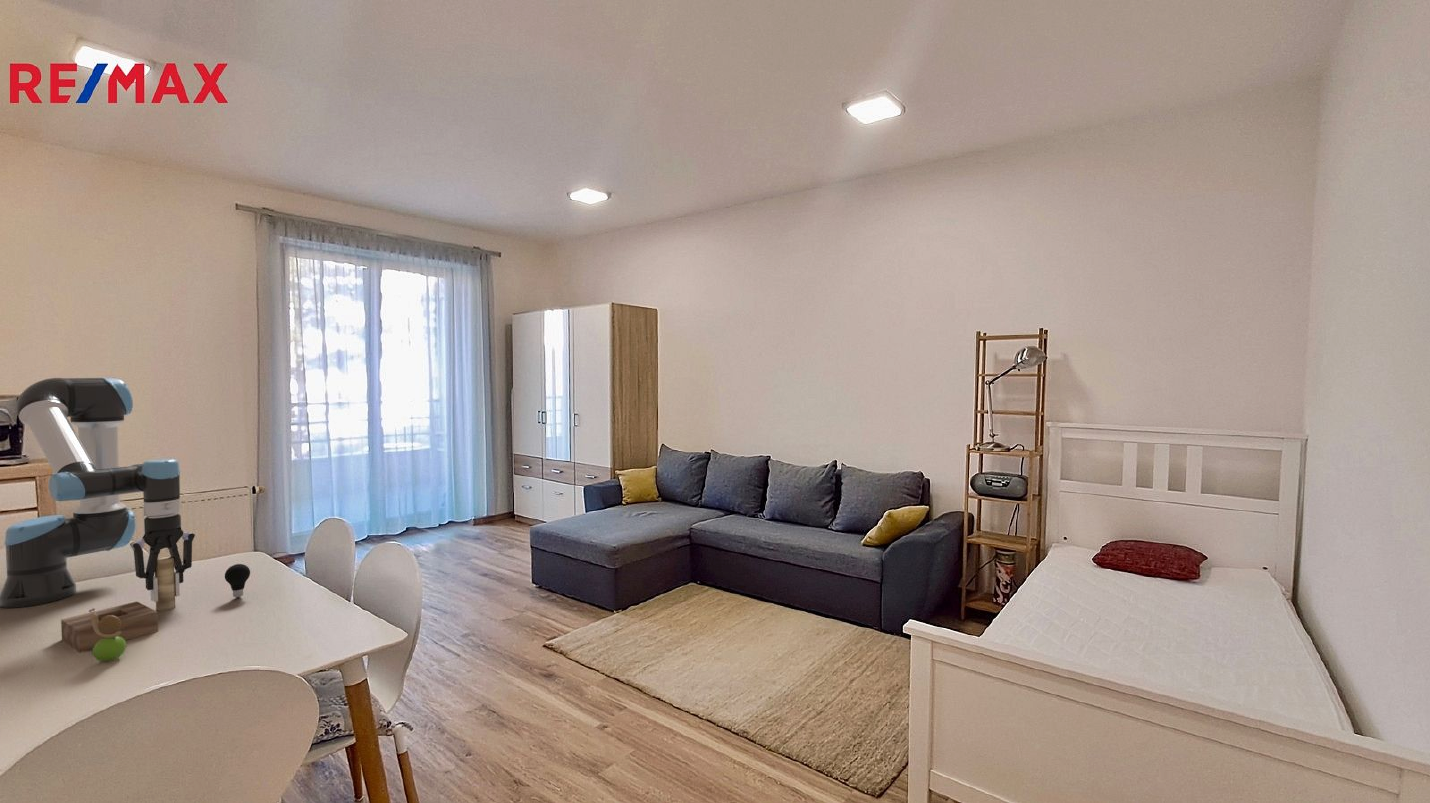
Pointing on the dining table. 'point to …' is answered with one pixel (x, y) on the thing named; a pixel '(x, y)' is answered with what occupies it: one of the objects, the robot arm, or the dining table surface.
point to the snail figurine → (107, 637)
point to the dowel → (165, 584)
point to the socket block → (131, 615)
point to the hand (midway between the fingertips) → (165, 597)
